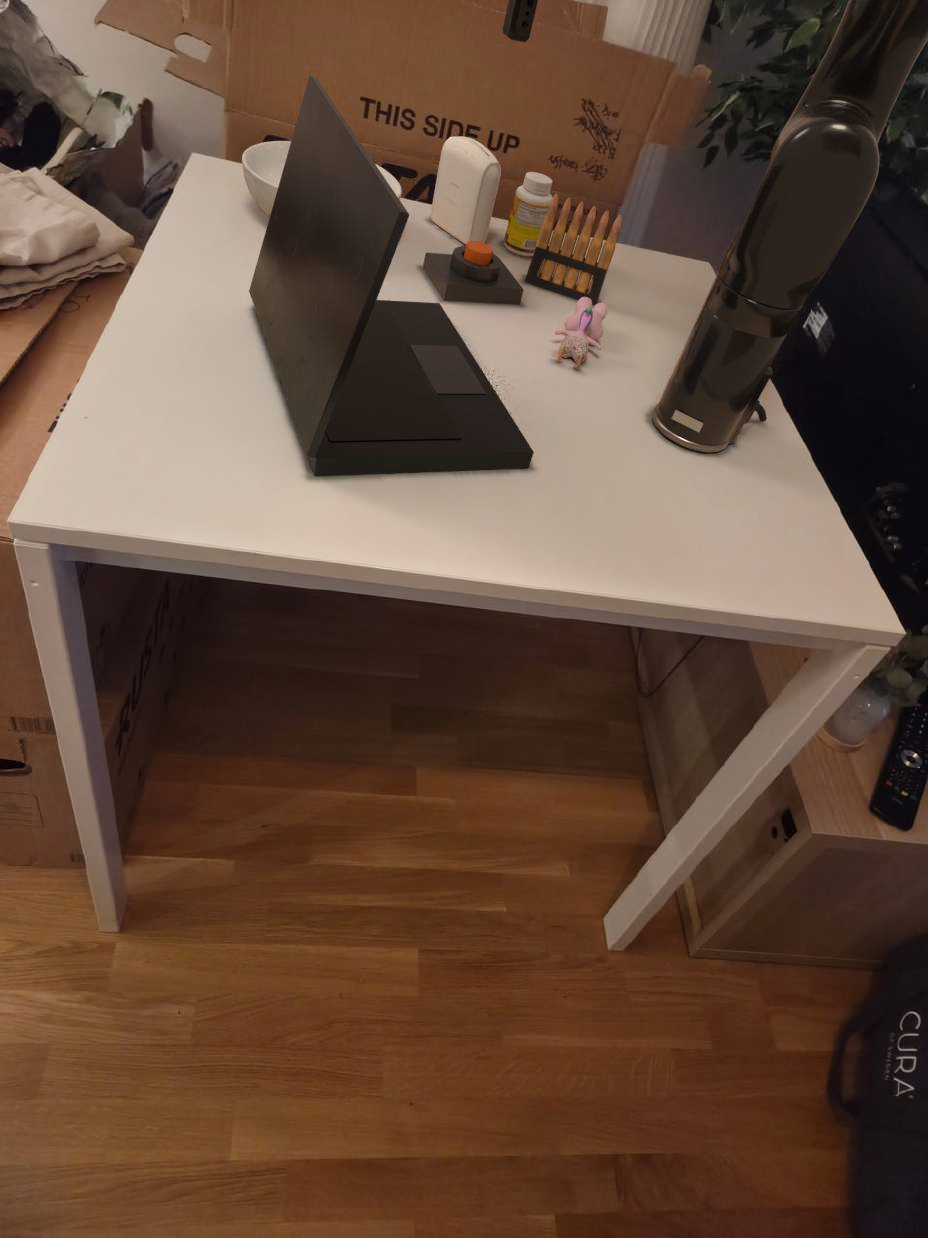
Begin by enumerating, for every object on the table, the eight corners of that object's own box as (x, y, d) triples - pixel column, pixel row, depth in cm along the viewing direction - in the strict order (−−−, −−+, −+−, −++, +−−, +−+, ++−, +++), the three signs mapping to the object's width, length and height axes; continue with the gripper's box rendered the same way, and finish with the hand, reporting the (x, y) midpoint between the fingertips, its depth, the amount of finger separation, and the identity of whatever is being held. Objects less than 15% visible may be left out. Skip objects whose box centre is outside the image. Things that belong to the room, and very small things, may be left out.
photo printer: (424, 218, 118) (441, 127, 110) (446, 216, 121) (464, 127, 112) (467, 249, 114) (487, 157, 105) (489, 247, 116) (510, 156, 108)
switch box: (495, 273, 111) (502, 244, 108) (519, 304, 105) (527, 275, 102) (422, 268, 106) (427, 238, 103) (443, 301, 101) (449, 270, 98)
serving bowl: (390, 271, 103) (399, 218, 98) (227, 237, 100) (228, 179, 95) (397, 212, 118) (405, 162, 113) (255, 180, 114) (256, 127, 109)
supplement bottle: (511, 237, 121) (530, 166, 114) (543, 251, 120) (564, 180, 113) (496, 247, 117) (514, 173, 110) (529, 261, 116) (549, 188, 109)
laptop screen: (318, 78, 74) (309, 74, 74) (411, 214, 57) (400, 210, 56) (256, 293, 88) (248, 291, 87) (316, 458, 70) (306, 456, 69)
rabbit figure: (587, 384, 97) (613, 320, 106) (602, 343, 92) (628, 280, 101) (540, 367, 98) (569, 304, 106) (553, 325, 93) (582, 263, 101)
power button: (484, 254, 105) (487, 241, 104) (494, 267, 103) (497, 253, 102) (459, 252, 104) (462, 239, 102) (469, 265, 101) (472, 251, 100)
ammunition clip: (524, 282, 111) (549, 192, 102) (526, 277, 112) (551, 188, 103) (595, 306, 110) (627, 218, 102) (597, 301, 112) (628, 214, 103)
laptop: (436, 318, 97) (439, 301, 96) (528, 468, 80) (534, 451, 78) (256, 310, 89) (256, 292, 87) (314, 476, 71) (316, 457, 70)
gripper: (653, -202, 59) (579, 67, 71) (577, -221, 67) (522, 24, 79) (568, -232, 56) (505, 53, 68) (499, -249, 64) (454, 10, 76)
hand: (514, 37), depth 74 cm, fingers closed
